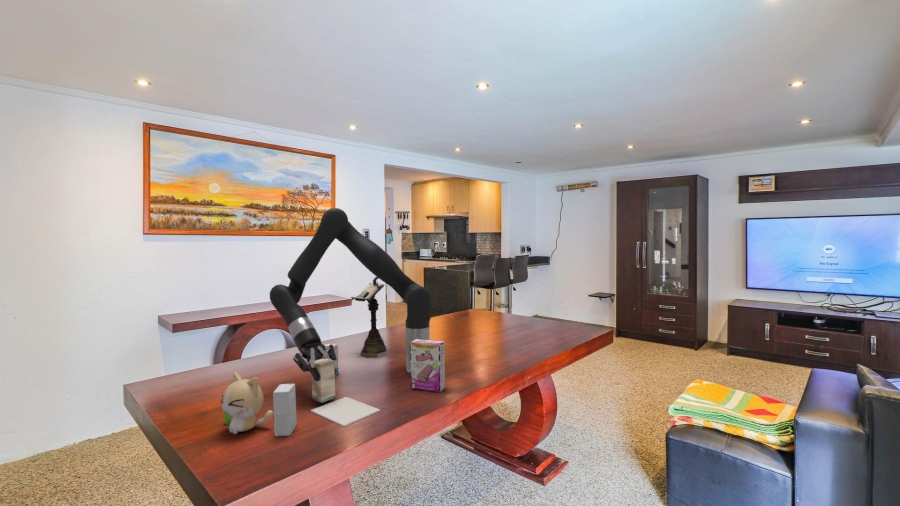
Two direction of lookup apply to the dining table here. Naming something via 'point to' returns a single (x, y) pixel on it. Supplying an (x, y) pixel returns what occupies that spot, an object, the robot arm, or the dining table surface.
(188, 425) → the dining table surface
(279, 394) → the skincare box
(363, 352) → the book lectern
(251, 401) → the kitten
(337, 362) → the ink box
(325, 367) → the birch block
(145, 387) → the dining table surface
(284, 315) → the robot arm
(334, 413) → the mat
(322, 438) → the dining table surface
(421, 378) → the candy bar box
